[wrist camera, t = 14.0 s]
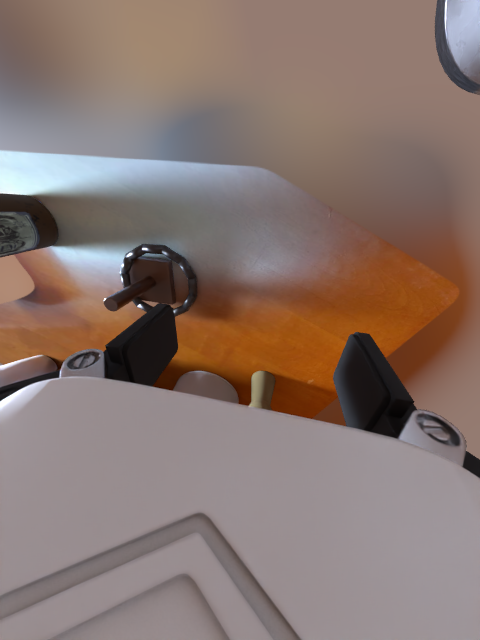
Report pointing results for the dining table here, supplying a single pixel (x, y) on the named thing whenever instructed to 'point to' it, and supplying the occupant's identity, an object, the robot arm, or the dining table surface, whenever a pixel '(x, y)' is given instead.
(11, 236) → the olive oil
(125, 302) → the peg
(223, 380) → the container
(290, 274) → the dining table surface
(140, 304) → the ring
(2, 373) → the vase
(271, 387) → the wooden peg doll
